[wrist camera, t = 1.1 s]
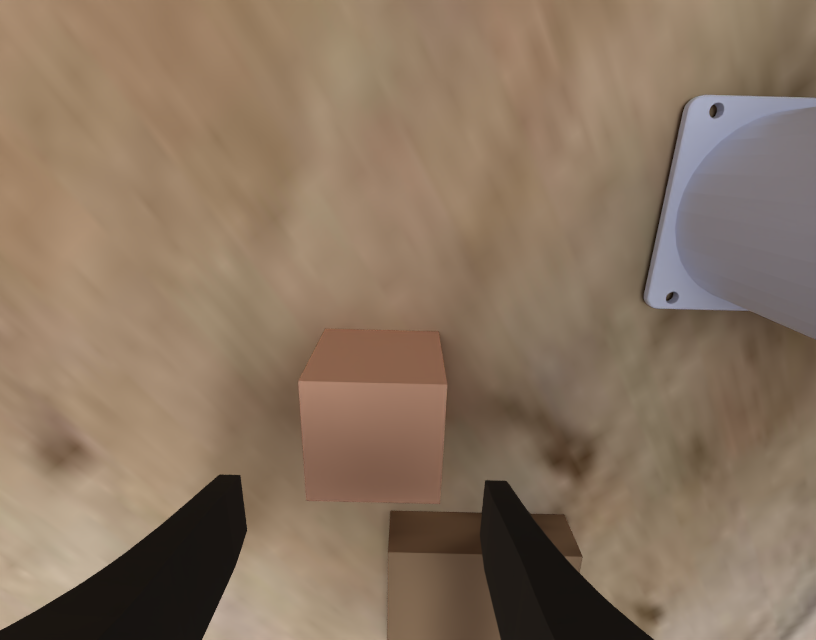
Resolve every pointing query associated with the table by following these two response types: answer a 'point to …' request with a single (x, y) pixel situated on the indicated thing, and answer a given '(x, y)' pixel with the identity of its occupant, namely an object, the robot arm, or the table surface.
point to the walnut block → (449, 574)
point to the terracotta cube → (374, 417)
